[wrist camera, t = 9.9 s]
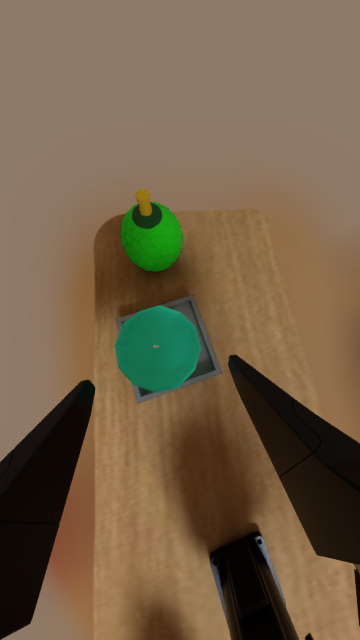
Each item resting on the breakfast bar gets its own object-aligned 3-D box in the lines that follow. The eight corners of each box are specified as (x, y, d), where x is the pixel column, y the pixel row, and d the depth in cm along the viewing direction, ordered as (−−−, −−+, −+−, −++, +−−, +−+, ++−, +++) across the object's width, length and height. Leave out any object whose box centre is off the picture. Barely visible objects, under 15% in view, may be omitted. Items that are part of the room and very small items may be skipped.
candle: (196, 355, 20) (224, 367, 8) (158, 377, 19) (129, 424, 8) (176, 318, 21) (175, 282, 9) (139, 338, 20) (87, 325, 9)
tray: (217, 370, 20) (222, 373, 18) (141, 398, 19) (137, 403, 17) (191, 299, 22) (193, 294, 20) (121, 321, 21) (115, 318, 19)
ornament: (185, 277, 23) (191, 224, 13) (135, 285, 23) (103, 237, 13) (176, 234, 24) (176, 157, 15) (129, 241, 24) (96, 167, 14)
